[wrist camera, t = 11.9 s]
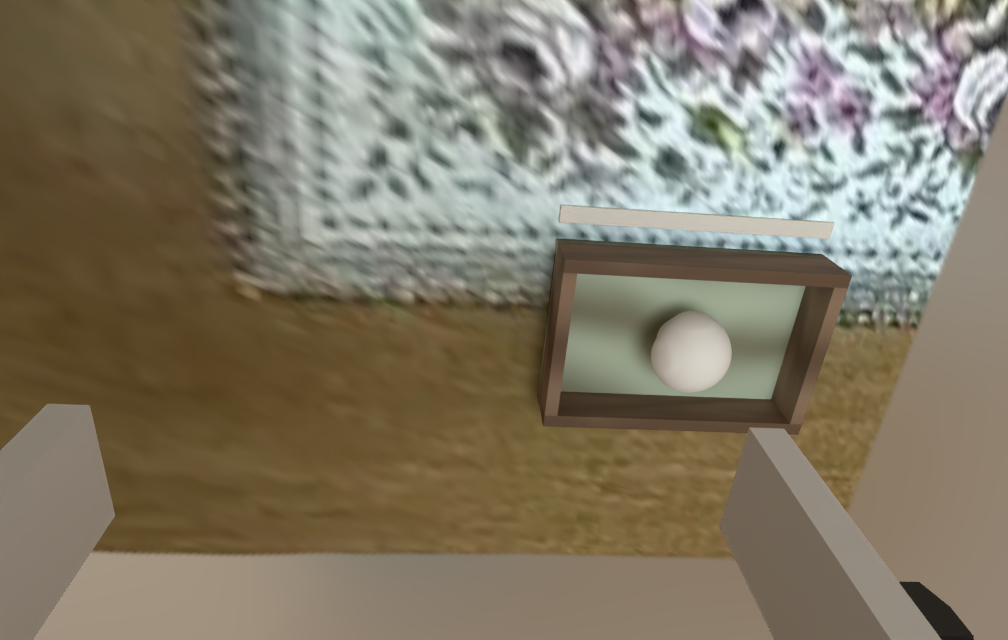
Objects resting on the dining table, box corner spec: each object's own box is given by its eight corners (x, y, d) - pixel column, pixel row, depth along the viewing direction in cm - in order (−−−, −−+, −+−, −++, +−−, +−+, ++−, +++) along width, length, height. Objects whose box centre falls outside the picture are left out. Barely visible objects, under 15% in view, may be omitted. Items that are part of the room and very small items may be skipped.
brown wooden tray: (556, 238, 40) (565, 259, 37) (822, 254, 41) (851, 275, 38) (537, 395, 45) (543, 426, 42) (775, 404, 46) (798, 434, 43)
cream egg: (648, 294, 41) (671, 331, 37) (722, 300, 42) (754, 337, 37) (633, 363, 43) (653, 406, 39) (704, 368, 44) (731, 410, 39)
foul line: (560, 204, 39) (561, 205, 39) (832, 222, 40) (834, 223, 40) (558, 221, 39) (559, 222, 39) (827, 237, 41) (829, 238, 41)
